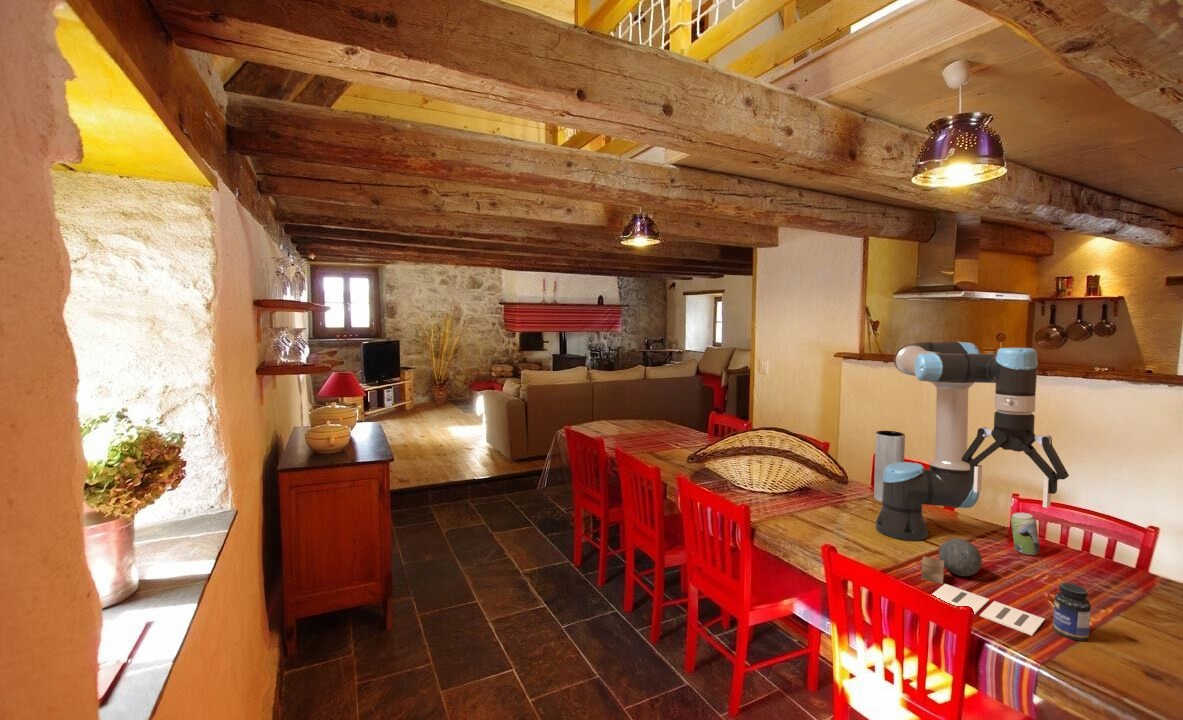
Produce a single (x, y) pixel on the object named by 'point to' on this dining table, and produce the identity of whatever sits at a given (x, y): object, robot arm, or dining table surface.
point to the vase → (886, 456)
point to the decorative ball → (960, 557)
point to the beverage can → (1025, 533)
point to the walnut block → (932, 570)
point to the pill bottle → (1072, 612)
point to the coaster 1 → (960, 597)
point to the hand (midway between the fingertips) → (1010, 498)
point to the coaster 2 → (1012, 618)
